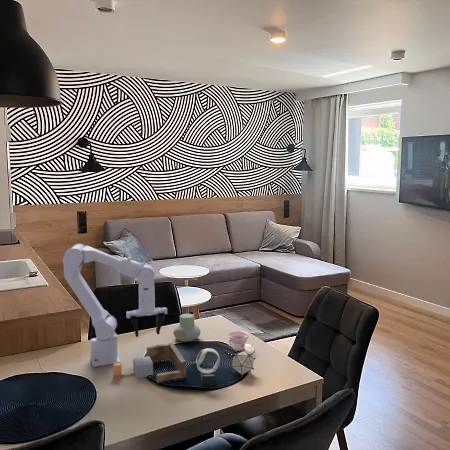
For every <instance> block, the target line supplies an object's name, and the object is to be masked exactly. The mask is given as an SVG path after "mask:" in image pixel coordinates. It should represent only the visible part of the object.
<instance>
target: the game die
mask: <svg viewBox="0 0 450 450" xmlns="http://www.w3.org/2000/svg"><path fill="white" fill-rule="evenodd" d="M237 353H238V354H236V353H235V356H232V355H231V358H232V364H231V366H229V369H230V368H231V369H234V370H235V372H237V373H238V374H239V375H241V376H240V378H243V376H244V375H245V374H247V373H252V372H251V370H255V368H254V361H255V360H256V357H253V356H251V354H247V353H246V352H245V349H243V351H241V352H237Z"/></svg>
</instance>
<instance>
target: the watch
mask: <svg viewBox="0 0 450 450" xmlns="http://www.w3.org/2000/svg"><path fill="white" fill-rule="evenodd" d="M208 352H209V353H214V354H215V356H217V358H216V359H217V360H216V362H215V364H214V365H213V367H212V368H202V367H200V365H201V364H202V363H203V361H204V359H205V357H206V354H207V353H208ZM220 362H221V358H220V354H219V352H218V351H217V350H216V349H214V348H210V347H209V348H208V347H207V348H204V349H203V348H202V349H201V350H200V351H199V353H198V354H197V356H196V359H195V364H196V368H197V370H198V371H199V372H200V377H201V386H215V385H216V375H215V373H216V370H217V369H218V367H219V365H220Z"/></svg>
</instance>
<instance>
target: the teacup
mask: <svg viewBox="0 0 450 450" xmlns="http://www.w3.org/2000/svg"><path fill="white" fill-rule="evenodd" d="M227 336H228V338H229V339H228V340H229V342H228V343H229V344H228V345H229V346H231V347H232V348H233V351H234V352H237V351H241V352H242V351H243V349H245V350H244V351H245V352H246V353H247V354H250V355H252V354H253V353H254V352H255V347H254V346H252V345H250V344H247V342H248V339H249V337H250V334H249V333H248V332H247V331H241V330H236V331H231V332H230V333H228V335H227ZM228 354H229V353H228ZM228 354H227V355H228ZM230 356H232V354H231V355H230Z"/></svg>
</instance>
